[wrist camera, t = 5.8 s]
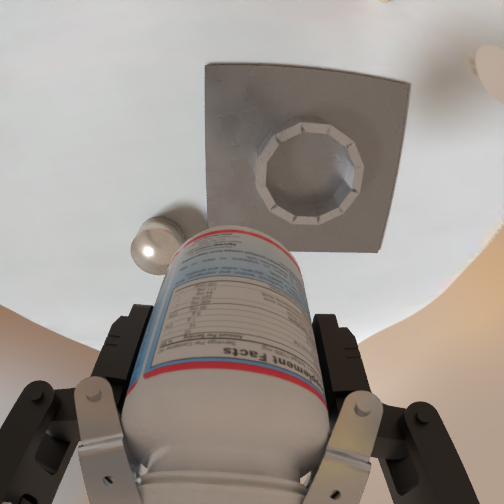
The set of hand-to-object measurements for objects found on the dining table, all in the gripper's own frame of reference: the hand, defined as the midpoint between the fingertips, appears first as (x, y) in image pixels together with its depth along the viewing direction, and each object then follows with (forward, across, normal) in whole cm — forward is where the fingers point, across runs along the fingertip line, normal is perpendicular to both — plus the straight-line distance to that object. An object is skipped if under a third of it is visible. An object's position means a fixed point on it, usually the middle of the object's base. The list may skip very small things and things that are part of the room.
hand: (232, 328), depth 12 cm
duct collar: (+20, -6, -1) cm, 20 cm away
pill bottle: (+3, 0, 0) cm, 3 cm away
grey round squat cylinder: (+20, +8, +8) cm, 23 cm away
